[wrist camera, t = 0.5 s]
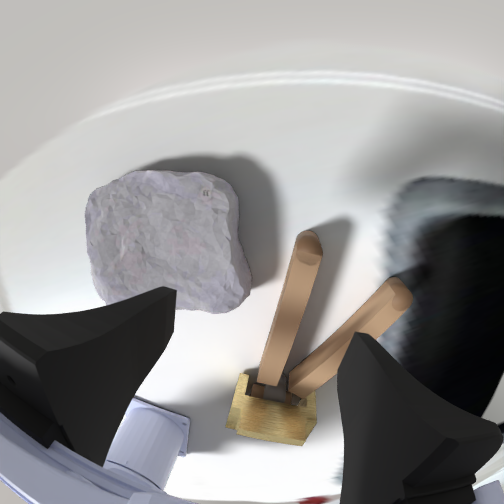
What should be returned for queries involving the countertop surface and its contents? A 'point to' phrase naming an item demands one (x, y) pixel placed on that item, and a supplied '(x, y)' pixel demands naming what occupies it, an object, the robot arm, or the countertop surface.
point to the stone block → (168, 239)
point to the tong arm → (350, 336)
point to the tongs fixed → (288, 318)
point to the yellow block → (271, 417)
